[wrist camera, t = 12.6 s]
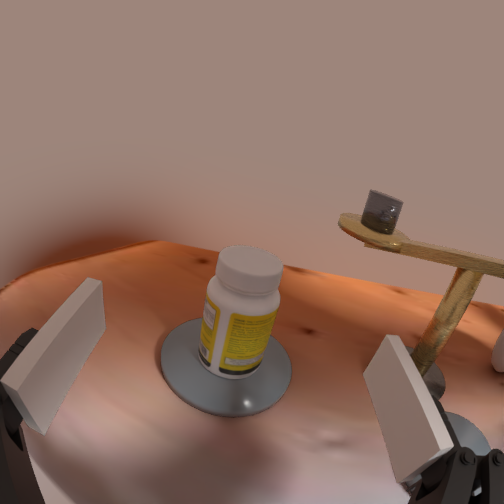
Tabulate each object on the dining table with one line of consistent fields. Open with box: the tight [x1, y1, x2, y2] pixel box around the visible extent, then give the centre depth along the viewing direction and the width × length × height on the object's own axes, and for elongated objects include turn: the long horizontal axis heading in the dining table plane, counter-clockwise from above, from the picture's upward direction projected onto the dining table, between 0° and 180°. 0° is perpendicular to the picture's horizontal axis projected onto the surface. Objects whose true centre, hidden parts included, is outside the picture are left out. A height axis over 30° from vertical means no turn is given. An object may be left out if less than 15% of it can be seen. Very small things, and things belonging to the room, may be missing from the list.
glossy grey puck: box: [406, 412, 491, 496], centre depth 13 cm, size 10×10×1 cm
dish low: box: [161, 318, 292, 417], centre depth 21 cm, size 10×10×1 cm
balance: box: [338, 190, 504, 400], centre depth 19 cm, size 8×26×16 cm, turn 39°
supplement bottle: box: [198, 245, 283, 379], centre depth 19 cm, size 5×5×8 cm
